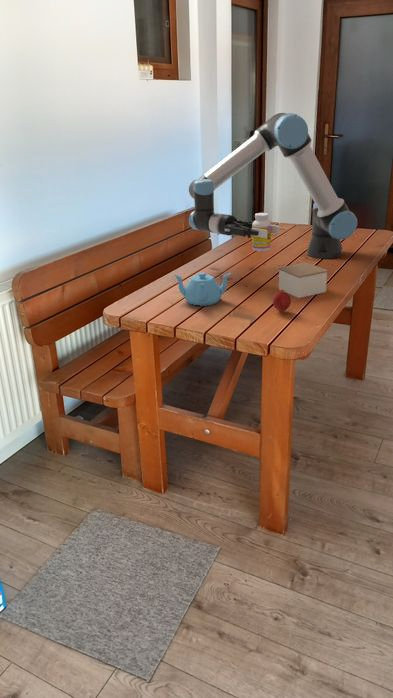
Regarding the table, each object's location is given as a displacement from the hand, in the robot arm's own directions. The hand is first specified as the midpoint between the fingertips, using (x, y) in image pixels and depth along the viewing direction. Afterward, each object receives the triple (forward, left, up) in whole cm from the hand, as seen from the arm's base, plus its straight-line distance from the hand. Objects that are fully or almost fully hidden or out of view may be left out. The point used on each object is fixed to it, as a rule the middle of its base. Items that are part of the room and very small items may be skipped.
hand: (272, 232), depth 204 cm
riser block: (-7, +8, -21) cm, 24 cm away
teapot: (+29, -1, -21) cm, 35 cm away
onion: (+12, +22, -21) cm, 33 cm away
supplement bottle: (+2, -5, -7) cm, 9 cm away
